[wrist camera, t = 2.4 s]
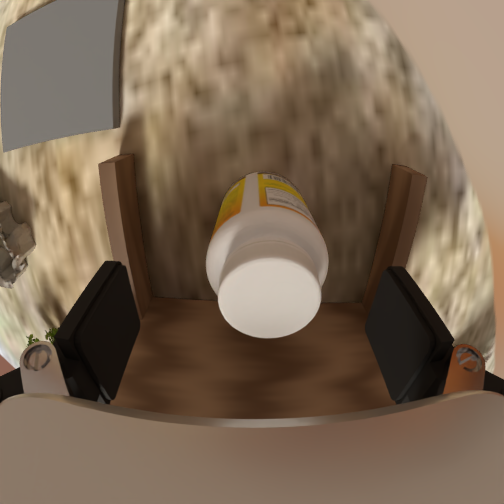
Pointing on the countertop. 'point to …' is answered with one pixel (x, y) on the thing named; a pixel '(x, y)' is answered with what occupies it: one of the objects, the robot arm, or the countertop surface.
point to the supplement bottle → (266, 257)
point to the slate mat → (61, 72)
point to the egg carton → (13, 246)
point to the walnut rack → (245, 346)
